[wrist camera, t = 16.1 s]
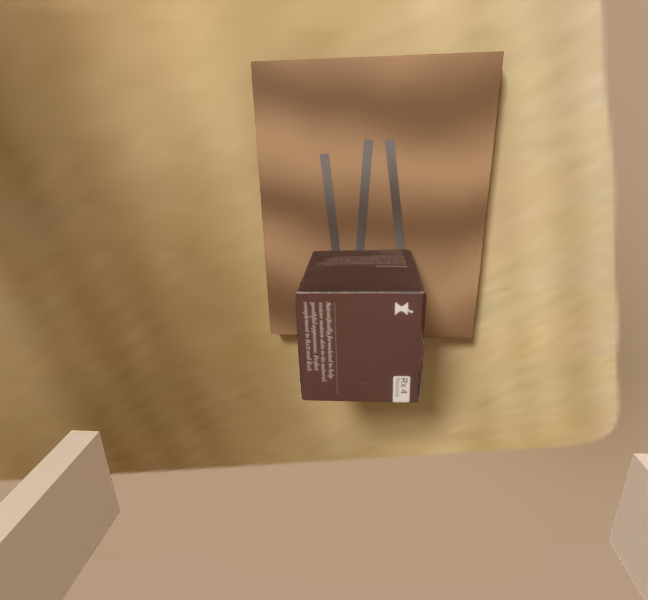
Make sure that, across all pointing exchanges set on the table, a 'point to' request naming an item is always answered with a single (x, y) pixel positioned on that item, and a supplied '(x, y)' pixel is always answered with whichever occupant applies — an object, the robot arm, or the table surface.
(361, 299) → the box
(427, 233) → the board
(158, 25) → the table surface
